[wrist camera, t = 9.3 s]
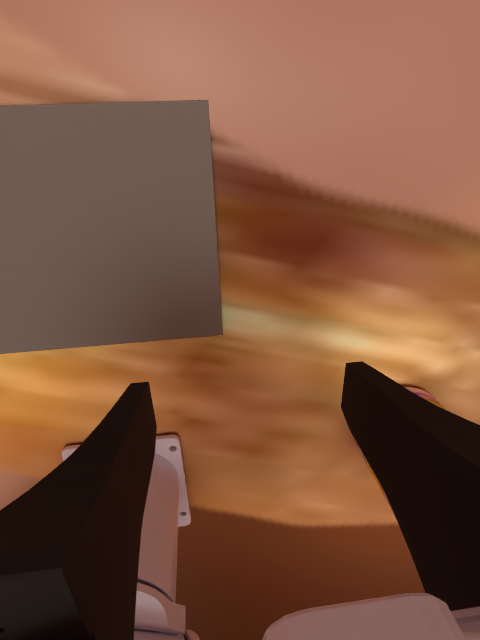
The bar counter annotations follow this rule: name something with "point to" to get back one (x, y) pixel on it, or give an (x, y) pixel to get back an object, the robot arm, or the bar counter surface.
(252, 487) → the bar counter surface
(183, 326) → the mat
